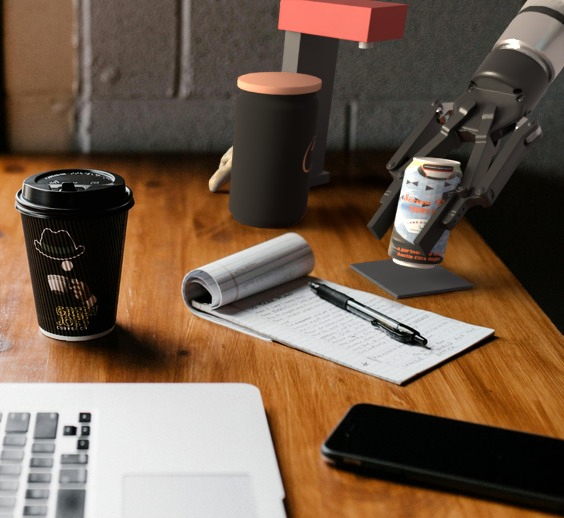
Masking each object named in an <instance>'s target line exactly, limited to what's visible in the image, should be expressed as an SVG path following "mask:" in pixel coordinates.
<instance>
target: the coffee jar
mask: <svg viewBox="0 0 564 518" xmlns="http://www.w3.org/2000/svg"><path fill="white" fill-rule="evenodd" d="M321 84H322V81H321V79H319V78H317V77H314V76H311V75H306V74H299V73H288V72H282V71H261V72H250V73H246V74H243V75H240V76H238V77H237V87H238V88H239V90H240V93H239V94H238V95H237V96H236V100H235V111H234V123H233V124H234V125H233V136H232V137H233V139H232V146H233V152H232V166H231V180H229V181H230V182H229V193H228V195H229V197H228V210H229V212H230V214H231V217H232V218H233V219H234V220H235V222H237V223H240V224H241V225H245V226H249V227H254V228H260V229H261V228H262V229H283V228H289V227H292V226H295V225H297V224H298V223H300V222H301V220H302V219H303V217H305V216H306V214H307V211H308V202H309V195H310V188H311V187H310V178H311V170H312V162H313V153H314V145H315V137H316V128H317V120H318V112H319V99H318V97H317V96H316V95H317V92H318V91H319V90H320V89H321Z"/></svg>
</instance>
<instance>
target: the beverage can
mask: <svg viewBox="0 0 564 518" xmlns="http://www.w3.org/2000/svg"><path fill="white" fill-rule="evenodd" d="M463 175H464V173H463V171H462V169H461V162H459V161H457V160H452V159H446V158H444V159H439V158H429V157H414V158H413V162H412V163H411V164H410V165H409V166H408V167H407V169H406V171H405V175H404V180H403V184H402V189H401V194H400V198H399V203H398V208H397V213H396V217H395V221H394V223H393V227H392V230H391V231H392V232H391V236H390V240H389V246H388V250H387V255H388V256H389V257H390V258H391V259H393V261H394V262H395V263H397V264H400V265H403V266H407V267H413V268H423V269H428V268H433V267H435V265H436V264H438V265H440V264H442V263H443V262H444V258H445V254H446V250H447V246H448V241H449V237H450V233H451V231H449V230H446V231H445V232H444V234H443V235H442V236H441V238H440V239H439V240H438V242H437V243H436V245H435V246H434V247H433V249H432V250H431V252H430V253H429V254H428V256H427V257H425V256H423V255H421V254H420V253H419V251H418V249H417V248H416V246H415V244H414V243H413V241H414V239H415V238H416V237H417V235H418V234H419V233H420V231H421V230H422V228H423V227H424V226H425V224H426V223H427V221H428V220H429V219H430V217H431V216H432V214H433V213H434V212H435V210H436V209H437V208H438V207H439V206H440V205H441V204H442V203H443V202H444V201H445V200H446V199H447V198H448V197H449V196H450V194H451V193H453V194H455V196H456V197H457V195H458V194H457V192H456V190H455V187H457V189H458V187H459V185H460V183H461V180H462V177H463Z"/></svg>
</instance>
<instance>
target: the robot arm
mask: <svg viewBox="0 0 564 518" xmlns="http://www.w3.org/2000/svg"><path fill="white" fill-rule="evenodd" d="M563 68H564V0H526V2H524V4H523V5H522V7H521V9H520V10H519V11H518V12H517V14H516V16H515V17H514V18H513V19H512V21H511V22H510V23H509V25H508V26H507V27H506V28H505V30H504V31H503V33H502V34H501V36H500V37H499V38H498V39H497V41H496V42H495V44H493V47H492V49H491V51H490V52H489V53H488V54H487V55H486V57H485V58H484V59H483V61H482V62H481V64H480V65H479V66H478V68H477V69H476V70H475V72H474V74H473V75H472V76H471V78H470V81H469V83H468V87H467V89H466V91H465V92H464V93H462V94H461V95H460V96H458V97H457V98H456V99H455V100H454V101H450V102H449V101H448V102H442V101H441V100H440V98H439V97H435V98H432V99H431V100H430V101H429V103H428V106H427V108H426V111H425V114H424V116H423V117H422V118H421V120H420V121H419V122H418V123H417V124H416V126H414V128H413V130H412V131H411V132H410V133H409V135H408V136H407V137H406V139H405V140H404V141H403V143H402V144H401V145H400V146H399V148H398V149H397V150H396V151H395V153H394V154H393V156H392V157H391V159H390V160H389V161H388V162H387V163H386V169H387V171H388V173H389V174H390V176H391V178H392V179H393V180H392V182H391V184H389V186H388V188H387V189H386V191H384V193H383V194H382V196H381V198H380V201H379V204H380V207H379V208H378V209H377V211H376V212H375V214H374V215H373V216H372V218H371V219H370V220H369V222H368V223H367V225H366V227H367V228H368V230H369V231H370V233H371V234H372V236H373V237H374V238H375V240H379V241H382V239H384V237H385V235H386V234H387V233H388V231H389V229H390V228H391V227H392V226H393V225H394V222H395V217H396V213H397V208H398V203H399V198H400V194H401V189H402V184H403V180H404V175H405V171H406V169H407V167H408V166H409V165H410V164H411V163H412V162H413V158H414V157H429V158H439V159H446V157H447V156H448V155H450V153H452V152H453V151H455V150H459V149H461V147H462V146H463V145H465V144H466V143H474V145H473V148H472V150H471V154H470V156H469V159H468V161H467V164H466V167H465V169H464V172H463V177H462V180H461V183H460V185H459V187H458V189H457V187H455V190H456V192H457V194H458V195H457V197H456V196H455V194H453V193H451V194H450V196H449V197H448V198H447V199H446V200H445V201H444V202H443V203H442V204H441V205H440V206H439V207H438V208H437V209H436V210H435V212H434V213H433V214H432V216H431V217H430V219H429V220H428V221H427V223H426V224H425V226H424V227H423V228H422V230H421V231H420V233H419V234H418V235H417V237H416V238H415V239H414V241H413V243H414V244H415V246H416V248H417V249H418V251H419V253H420V254H421V255H423V256H425V257H427V256H428V254H429V253H430V252H431V250H432V249H433V247H434V246H435V245H436V243H437V242H438V240H439V239H440V238H441V236H442V235H443V234H444V232H445V231H446V230H449V231H450V232H451V231H452V230H454V229H456V227H457V226H458V224H459V222H460V221H461V220H462V218H463V217H464V216H465V215H466V213H467V212H468V210H469V209H471V208H473V207H475V206H481V207H482V208H485V209H488V208H490V207H492V205H493V204H494V203H495V202H496V200H497V198H498V196H499V195H500V194H501V192H502V190H503V189H504V187H505V186H506V184H507V183H508V181H509V180H510V178H511V176H512V175H513V174H514V172H515V171H516V169H517V168H518V166H519V165H520V163H521V162H522V160H523V159H524V157H525V155H526V154H527V153H528V151H529V150H530V149H531V148H532V147H534V146H535V145H536V144H537V143H538V142H539V141H540V140H542V138H543V137H544V135H543V131H542V128H541V125H540V123H539V119H537V118H536V117H531V118H528V117H527V116H529V115H530V114H531V113H532V112H533V110H534V109H535V108H536V106H537V105H538V103H540V101H541V99H542V98H543V96H544V95H545V94H546V93H547V91H548V89H549V86H550V85H551V84H552V83H553V82H554V80H555V79H556V78H557V76H558V75H559V74H560V72H561V71H562V69H563ZM510 134H511V135H510ZM509 135H510V137H509V138H508V140H507V141H506V142H505V144H504V145H503V147H502V148H501V150H500V152H499V153H498V155H497V156H496V154H497V152H498V149H499V146H500V143H501V140H502V139H503V138H505V137H506V136H509ZM494 156H496V158H495V159H494V160H493V162H492V159H493V157H494ZM491 162H492V164H491ZM489 166H490V167H489Z"/></svg>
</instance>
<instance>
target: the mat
mask: <svg viewBox="0 0 564 518" xmlns="http://www.w3.org/2000/svg"><path fill="white" fill-rule="evenodd" d="M348 267H349V268H350V269H352V270H353V271H354V272H355V273H357V274H359V275H361V276H362V277H364V278H365V279H367V280H368V281H369V282H370V283H372V284H374V285H376V286H377V287H378V288H380V289H381V290H383V291H385V292H386V293H388V294H389V295H391V296H392V297H394V298H395V299H396V300H400V299H406V298H412V297H418V296H419V297H420V296H425V295H434V294H441V293H446V292H447V293H448V292H454V291H461V290H462V291H463V290H469V289H474V286H475V284H473V283H472V282H470V281H468V280H467V279H465V278H463V277H461V276H459V275H458V274H456V273H454V272H452V271H451V270H449V269H447V268H445V267H443V266H442V265H440V264H436V265H435V267H433V268H428V269H423V268H413V267H407V266H403V265H400V264H397V263H395V262H394V261H393V258H388V259H381V260H380V259H379V260H371V261H363V262H356V263H350V264H349V266H348Z"/></svg>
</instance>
